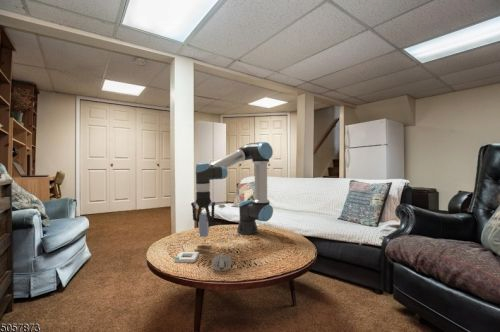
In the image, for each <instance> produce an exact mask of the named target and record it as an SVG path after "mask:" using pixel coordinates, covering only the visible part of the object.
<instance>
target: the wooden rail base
mask: <svg viewBox="0 0 500 332" xmlns="http://www.w3.org/2000/svg"><path fill="white" fill-rule="evenodd" d="M211 251H212V244H197V245H196V248H194V251H193V252H199V254H204V255H206V254H208V255H209V254H210V253H211Z"/></svg>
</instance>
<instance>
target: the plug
mask: <svg viewBox="0 0 500 332" xmlns="http://www.w3.org/2000/svg"><path fill="white" fill-rule="evenodd" d="M207 221H208V218H207V213H206V212H204V213H201V214H200V215H199V225H200V233H199V238H200V237H201V238H202V237H203V238H207V237H208V235H209V233H207Z"/></svg>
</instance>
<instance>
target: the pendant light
mask: <svg viewBox="0 0 500 332" xmlns="http://www.w3.org/2000/svg"><path fill="white" fill-rule="evenodd" d="M217 207H218V208H220V209H224V208H226V205H225V204H218V205H217ZM232 263H233V261H232V258H231V257H230V256H229V255H228V254H225V253H224V254H223V253H221V254H217V255H215V256H214V257H213V258H212V259H211V266H212V268H213V269H214V270H215V271H218V272H221V271H227V270H229V269H230V267H232Z"/></svg>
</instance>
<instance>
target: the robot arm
mask: <svg viewBox="0 0 500 332" xmlns="http://www.w3.org/2000/svg"><path fill="white" fill-rule="evenodd" d="M270 144H271V143H269V142H266V141H259V142H251V143H247V144H245V145H243V146H241V147H239V148H237V149H235V151H234V152H232V153H229V154H227V155H225V156H223V157H221V158H219V159H217V160H215V161H212V162H210V163H196V164H195V187H196V188H195V190H196V193H195V195H196V197H195V198H196V199H195V201H193V202H191V203H190V205H191V207H192V220H193V221H195V222H196V227H197V228H198V234H200V225H199V215H200V214H202V209H203V208H204V209H205V213H207V218H208V221H207V233H208V234H209V233H210V228H211V226H212V221H214V219H215V206H216V202H215V201H212V200H211V181H212V180H213V181H214V180H224V179H226V178H227V177H228V171H229V170H228V168H229V167H233V166H234V165H236V164H237V163H240V162H241V163H242V162H245V161H248V160H251V162H252V163H253V164H254V199H248V200H242V201H240V202H239V205H238V206H239V207H238V208H239V212H238V213H239V222H238V224H237V225H238V226H237V228H236V229H237V230H236V232H237V234H239V235H244V236H245V235H246V236H247V235H250V236H251V235H255V234H258V233H259V229H258V225H257V221H259V222H268V221H269V220H271V218H272V216H273V214H274V209H273V206H272V205H271V204H270V200H269V199H268V164H269V163H270V159H271V158H272V157H273V153H274V150H273V148H272V145H270ZM209 205H211V213H210V209H209ZM196 206H198V209H196V208H197V207H196Z"/></svg>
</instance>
